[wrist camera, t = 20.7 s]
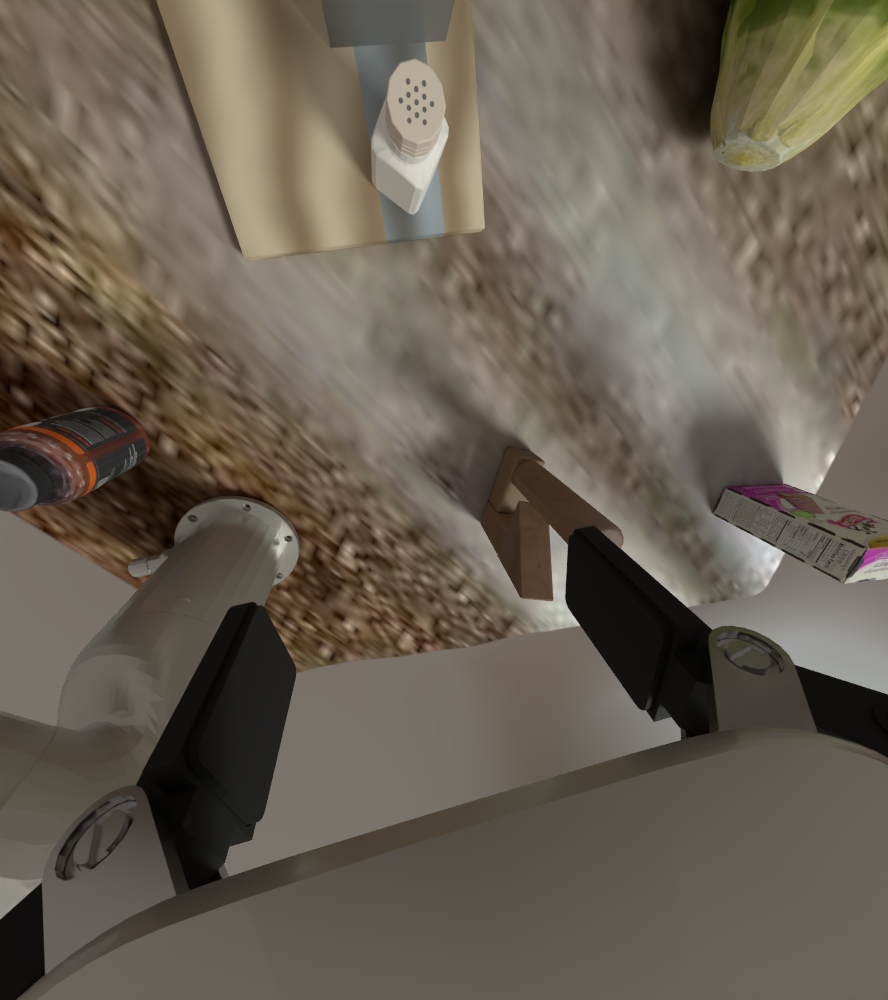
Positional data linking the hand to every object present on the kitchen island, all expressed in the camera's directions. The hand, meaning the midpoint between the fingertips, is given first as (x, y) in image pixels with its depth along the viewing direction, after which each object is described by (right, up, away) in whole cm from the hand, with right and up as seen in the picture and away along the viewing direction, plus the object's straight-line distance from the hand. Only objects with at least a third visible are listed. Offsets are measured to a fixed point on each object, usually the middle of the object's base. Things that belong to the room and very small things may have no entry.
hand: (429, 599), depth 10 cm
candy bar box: (+47, +3, +40) cm, 62 cm away
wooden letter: (+8, +5, +32) cm, 33 cm away
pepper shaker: (-3, +29, +16) cm, 33 cm away
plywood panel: (-7, +34, +14) cm, 37 cm away
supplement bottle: (-31, +9, +22) cm, 39 cm away
